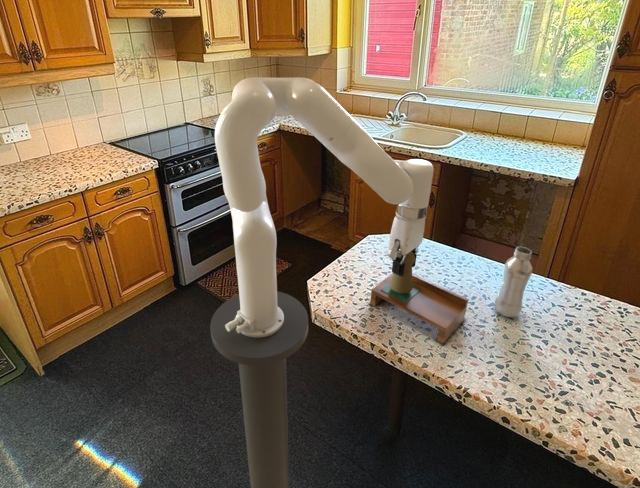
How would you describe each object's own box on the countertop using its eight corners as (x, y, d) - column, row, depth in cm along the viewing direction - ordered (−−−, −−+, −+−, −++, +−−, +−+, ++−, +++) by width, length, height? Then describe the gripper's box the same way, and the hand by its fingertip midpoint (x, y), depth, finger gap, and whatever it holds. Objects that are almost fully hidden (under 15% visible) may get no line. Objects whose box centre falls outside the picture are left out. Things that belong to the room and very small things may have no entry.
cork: (388, 290, 108) (392, 256, 103) (391, 278, 113) (395, 244, 108) (411, 295, 106) (416, 260, 101) (413, 282, 111) (418, 248, 106)
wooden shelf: (443, 344, 99) (447, 322, 96) (370, 303, 112) (371, 283, 109) (463, 320, 107) (468, 299, 103) (393, 284, 120) (395, 265, 117)
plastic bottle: (506, 323, 105) (525, 260, 97) (487, 307, 111) (503, 246, 102) (524, 317, 108) (544, 254, 99) (505, 301, 113) (522, 241, 104)
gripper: (415, 194, 107) (407, 251, 115) (379, 215, 96) (373, 277, 104) (441, 203, 102) (431, 262, 110) (407, 226, 91) (398, 289, 99)
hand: (403, 268), depth 107 cm, fingers closed on cork, 5 cm apart
